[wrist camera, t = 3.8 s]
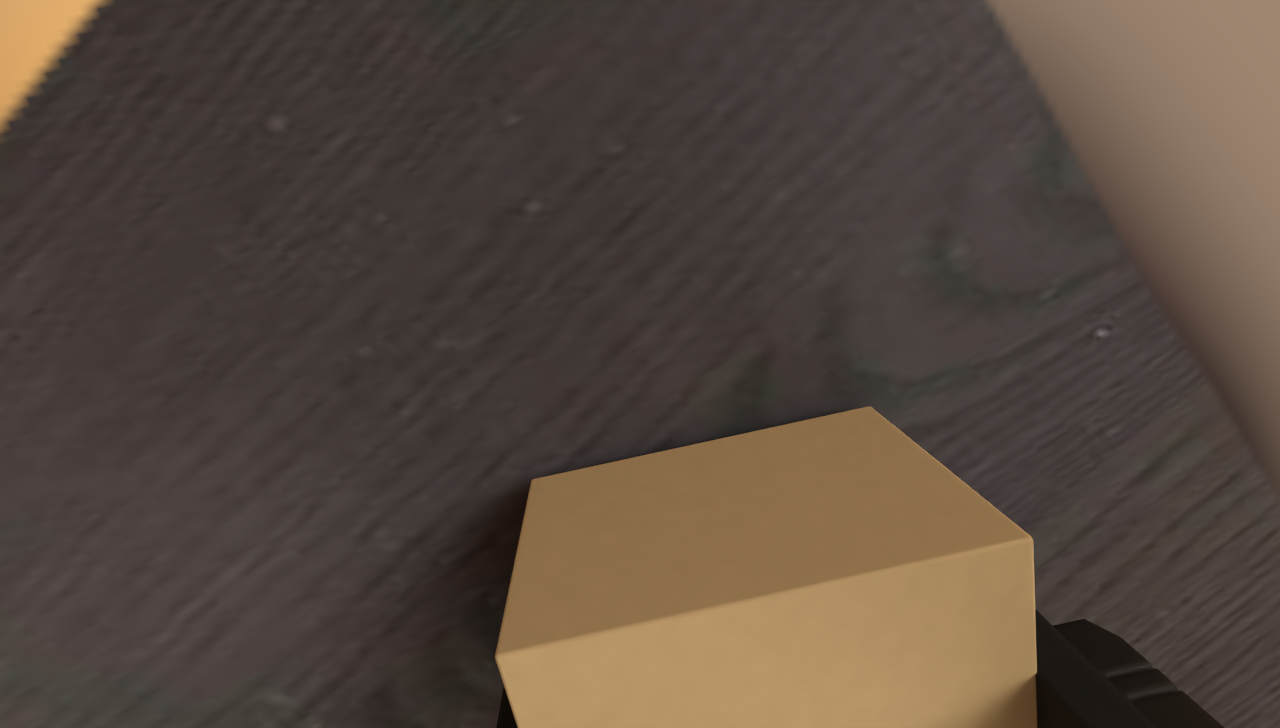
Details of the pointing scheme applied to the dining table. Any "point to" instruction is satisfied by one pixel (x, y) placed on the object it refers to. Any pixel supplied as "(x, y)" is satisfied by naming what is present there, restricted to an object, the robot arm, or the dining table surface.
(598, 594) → the tan rectangular block
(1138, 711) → the robot arm
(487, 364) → the dining table surface
